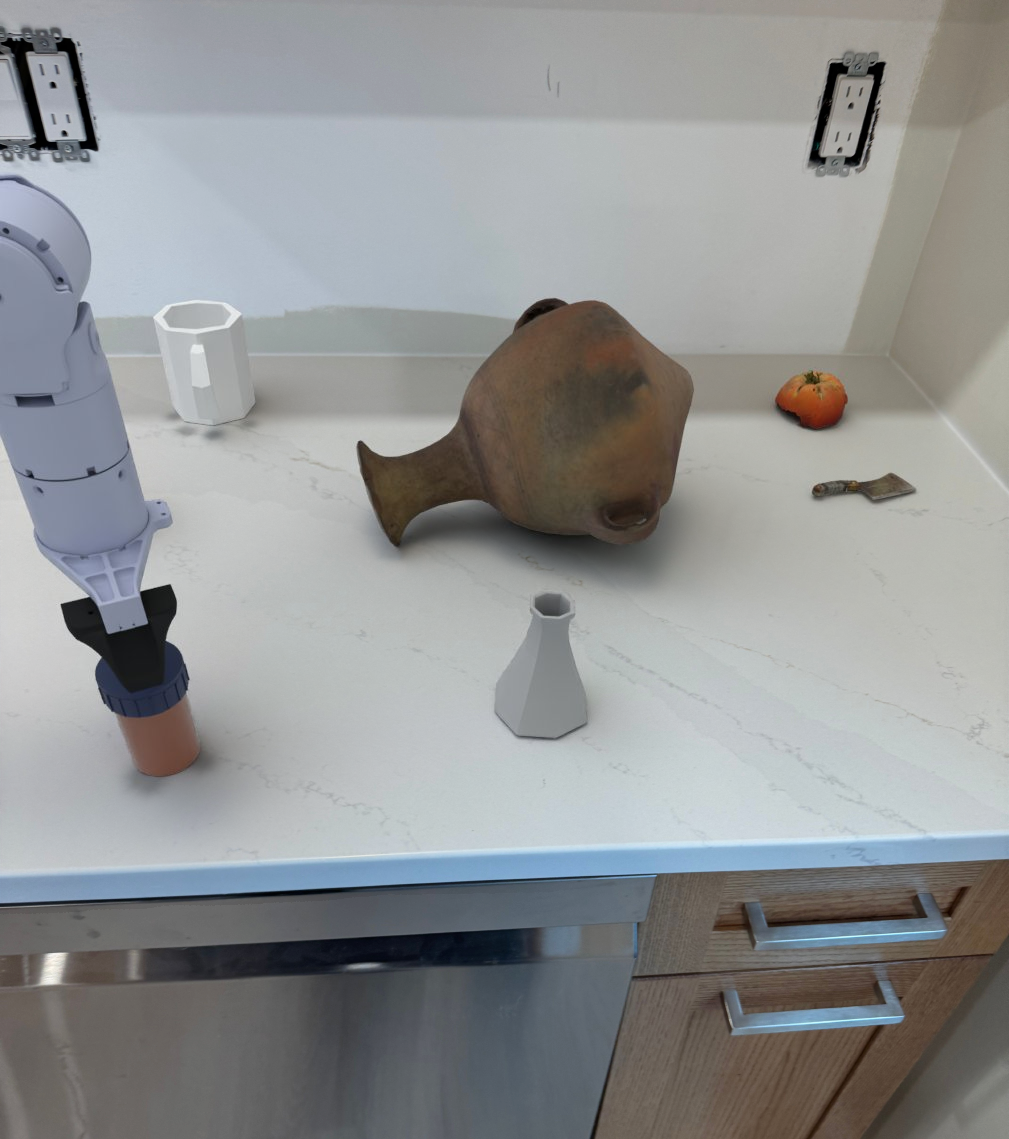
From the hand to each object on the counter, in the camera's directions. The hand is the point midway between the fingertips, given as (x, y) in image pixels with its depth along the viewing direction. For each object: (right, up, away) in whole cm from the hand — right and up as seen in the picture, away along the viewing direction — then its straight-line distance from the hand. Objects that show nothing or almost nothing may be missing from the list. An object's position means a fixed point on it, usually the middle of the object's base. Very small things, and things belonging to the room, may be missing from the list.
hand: (133, 646), depth 55 cm
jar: (-1, -7, +7) cm, 10 cm away
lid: (0, -1, +1) cm, 2 cm away
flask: (+26, -4, +12) cm, 29 cm away
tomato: (+58, +28, +48) cm, 80 cm away
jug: (+24, +13, +29) cm, 40 cm away
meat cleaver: (+60, +17, +36) cm, 72 cm away
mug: (-8, +26, +40) cm, 48 cm away
